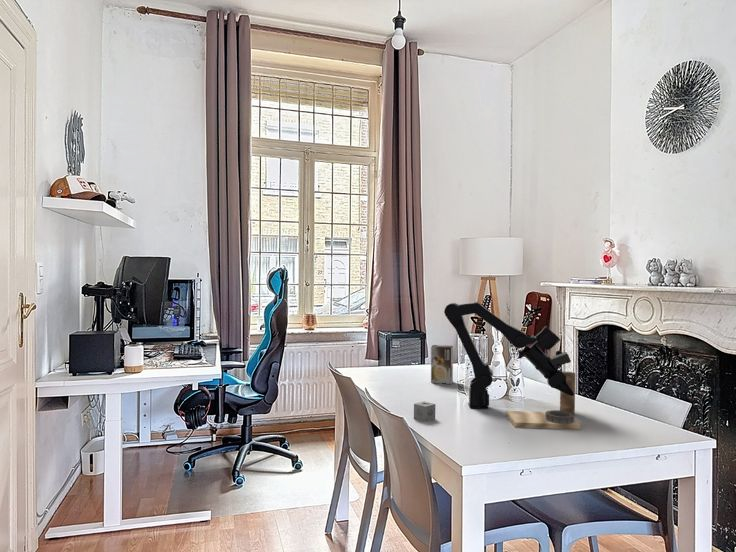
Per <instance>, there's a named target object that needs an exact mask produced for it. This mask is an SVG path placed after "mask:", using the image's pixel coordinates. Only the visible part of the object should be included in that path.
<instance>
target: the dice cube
mask: <svg viewBox="0 0 736 552" xmlns="http://www.w3.org/2000/svg"><path fill="white" fill-rule="evenodd" d="M413 419H415V420H418V421H420V420H421V422H424V423H426V421H427V422H430V421H434V420H436V403H433V402H429V401H428V402H427V401H419V402H415V403H413Z"/></svg>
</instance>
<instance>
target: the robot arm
mask: <svg viewBox="0 0 736 552" xmlns="http://www.w3.org/2000/svg"><path fill="white" fill-rule="evenodd" d="M443 312H444V316H445V317H446V319H447V320H448V321H449V324H451V325H452V327H453V328H454V329H455V331H456V333H457V335H458V337H459V340H460V342H461V343H462V346H463V348H464V350H465V353H466V354H467V356H468V359H469V361H470V363H471V365H472V370H473V375H474V378H473V379H471V380H470V384H469V388H468V402H467V404H468V407H469V408H470V409H484V410H485V409H486V410H487V409H489V406H490V394H489V393H488V391H489V390H488V389H487V388H488V387H491V385H492V382H493V375H494V372H493V370H492V369H491V367H490V363H489V361H486V362H484V360H483V359H482V358H481V355H480V354H479V352H478V350H477V347H476V345H475V343H474V341H473V339H472V337H471V334H470V332H469V330H468V328H467V326H466V322H465V318H464V316H467V315H472V314H474V315H477V316H478V317H479V318H481V320H483V321H485V322H486V323H488V324H489V325H490V326H491V327H493V328H494V329H496V330H497V331H499V333H501V334H502V335H503V336H504V337H505V338H506V340H507V341H508V342H510V343H511V345H512V346H513V347H514V348H516V349H518V350H517V351H518V359H519V360H521V359H523V357H525V358H526V360H527V361H529V362H530V363H531V365H532V366H534V368H535V369H536V370H537V371H539V373H540V374H541V375H542V376H543V378H545V379H546V382H547V384H548V386H550V387H551V388H552V389H555V390H557V391H562V392H564V393H566V394H568V395H570V396H573V395H574V393H573V391H572V390H571V388H570V387H569V385H568V384H567V383H566V375H565V374H564V373H563V372H564V371H563V368H562V367H561V366H563V365H565V364H570V363H571V362H572V361H571V358H570V355H569V354H568V352H566V351H561V350H557V351H555V355H553V356H551V357H550V356H549V355H547V354H546V353H545V352H543V351H547V350H548V351H550V350H551V349H552V348H554V347H555V345H557V344H558V343H560V341H561V338H560V337H559V336H558V335H557V334H555V332H554V331H552V330H551V329H550V328H549V327H548V326H547V325H545V326H544V327H543V328H542V329H541V331H539V332H538V333H537V334H536V335H533V334H526V333H525V332H524V331H522V330H520V329H518V328H517V327H515V326H512V325H510V324H508V323H507V322H505V321H504V320H502V319H501V318H499V317H498V316H497V315H495V314H494V313H493V312H491V311H490V310H489V309H488V308H486V307H485V306H483V305H482V304H481V303H480V302H477V301H475V302H471V303H463V304H458V303H456V302H451V303H449V304H446V306H445V308H444V311H443ZM529 345H530V346H529ZM522 348H523V349H522ZM519 349H520V350H519Z"/></svg>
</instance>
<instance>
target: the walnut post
mask: <svg viewBox="0 0 736 552" xmlns="http://www.w3.org/2000/svg"><path fill="white" fill-rule="evenodd" d="M562 372H563V373H564V374H565V375H566V383H567V384H568V385H569V387H570V388H571V390H572V391H573V393H574V395H573V396H570V395H568V394H566V393H564V392H562V391H560V392H559V393H560V394H559V411H566V412H569V413H572V414H573V415H574V416H575V415H576V414H575V411H576V410H575V409H576V406H575V405H576V373H575V372H573V371H562Z"/></svg>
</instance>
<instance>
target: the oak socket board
mask: <svg viewBox="0 0 736 552" xmlns="http://www.w3.org/2000/svg"><path fill="white" fill-rule="evenodd" d="M505 413H506V414H505V415H506V417H507V419H508V420H509V421H510V422H511V424H512V425H513V427H514V428H523V429H531V428H532V429H553V430H554V429H556V430H557V429H558V430H560V429H561V430H581V424H580V423H579V422H578V421H577V420H576V419H575V414H574V415H573V414H572V413H569V412H566V411H560V409H558V410H555V409H553V410H547V411H529V410H528V411H524V410H521V411H520V410H519V411H518V410H506V412H505Z"/></svg>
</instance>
